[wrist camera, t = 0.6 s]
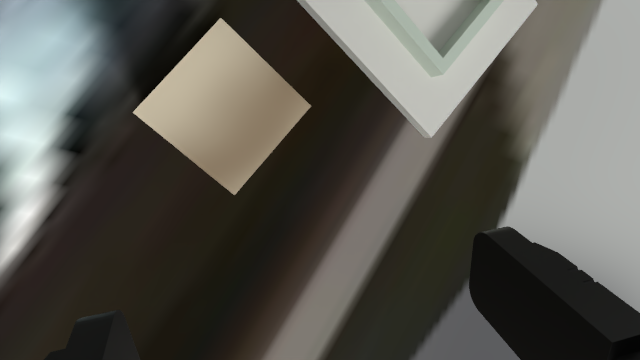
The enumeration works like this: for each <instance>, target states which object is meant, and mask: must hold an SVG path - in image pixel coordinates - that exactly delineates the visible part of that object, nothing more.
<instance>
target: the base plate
mask: <svg viewBox="0 0 640 360" xmlns="http://www.w3.org/2000/svg"><path fill="white" fill-rule="evenodd" d="M297 1H298V2H299V3H300V4H301V5H302V6H303V8H304V9H305V10H306V11H307V12H308V13H309V14H310V15H311V16H312V17H313V18H314V19H315V20H316V22H317V23H318V24H319V25H320V26H321V27H322V28H323V29H324V30H325V31H326V32H327V33H328V34H329V36H330V37H331V38H332V39H333V40H334V41H335V42H336V43H337V44H338V45H339V46H340V47H341V48H342V49H343V51H344V52H345V53H346V54H347V55H348V56H349V57H350V58H351V59H352V60H353V61H354V62H355V63H356V65H357V66H358V67H359V68H360V69H361V70H362V71H363V72H364V73H365V74H366V75H367V76H368V77H369V79H370V80H371V81H372V82H373V83H374V84H375V85H376V86H377V87H378V88H379V89H380V90H381V91H382V92H383V94H384V95H385V96H386V97H387V98H388V99H389V100H390V101H391V102H392V103H393V104H394V105H395V106H396V108H397V109H398V110H399V111H400V112H401V113H402V114H403V115H404V116H405V117H406V118H407V119H408V120H409V122H410V123H411V124H412V125H413V126H414V127H415V128H416V129H417V130H418V131H419V132H420V133H421V134H422V135H423V137H432V136H433V135H434V134H435V133H436V131H437V130H438V129H439V128H440V126H441V125H442V124H443V123H444V121H445V120H446V119H447V118H448V116H449V115H450V114H451V113H452V111H453V110H454V109H455V108H456V106H457V105H458V104H459V103H460V101H461V100H462V99H463V98H464V96H465V95H466V94H467V93H468V91H469V90H470V89H471V88H472V86H473V85H474V84H475V83H476V81H477V80H478V79H479V78H480V76H481V75H482V74H483V73H484V71H485V70H486V69H487V68H488V66H489V65H490V64H491V62H492V61H493V60H494V59H495V57H496V56H497V55H498V54H499V52H500V51H501V50H502V49H503V47H504V46H505V45H506V44H507V42H508V41H509V40H510V39H511V37H512V36H513V35H514V34H515V32H516V31H517V30H518V29H519V27H520V26H521V25H522V24H523V22H524V21H525V20H526V19H527V17H528V16H529V15H530V14H531V12H532V11H533V10H534V9H535V7H536V6H537V5H538V4H537V2H536V1H535V0H297Z"/></svg>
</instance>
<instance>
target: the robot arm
mask: <svg viewBox="0 0 640 360" xmlns="http://www.w3.org/2000/svg"><path fill="white" fill-rule="evenodd" d="M469 289H470V294H471V297H472V300H473V302H474V304H475V306H476V308H477V309H478V311H479V312H480V313H481V314H482V315H483V316H484V317H485V319H486V320H487V321H488V322H489V323H490V324H491V326H492V327H493V328H494V329H495V330H496V332H497V333H498V334H499V335H500V336H501V337H502V338H503V340H504V341H505V342H506V343H507V344H508V345H509V347H510V348H511V349H512V350H513V351H514V352H515V354H516V355H517V356H518V357H519V358H520V359H521V360H640V313H639V312H638V311H636V310H635V309H633V308H632V307H631V306H629V305H628V304H626V303H625V302H624V301H623V300H621V299H620V298H619V297H617V296H616V295H614V294H613V293H612V292H610V291H609V290H608V289H607V288H605V287H604V286H603V285H601V284H600V283H598V282H594V280H593V278H591V277H590V276H589V275H588V274H586V273H585V272H583V271H582V270H578V268H577V266H575V265H574V264H573V263H571V262H570V261H569V260H567V259H566V258H565V257H563V256H562V255H561V254H559V253H558V252H555V251H553V250H551V249H548V248H546V247H544V246H542V245H539V244H537V243H532V242H530V241H529V240H528V239H526V238H525V237H524V236H522V235H521V234H520V233H518V232H517V231H516V230H515V229H513V228H511V227H503V228H498V229H494V230H489V231H485V232H480V233H478V234H477V235H476V236H475V238H474V242H473V251H472V261H471V271H470V280H469ZM44 360H140V358H139V356H138V353H137V350H136V347H135V344H134V342H133V339H132V336H131V333H130V330H129V328H128V325H127V322H126V319H125V317H124V315H123V313H122V312H121V311H120V310H116V311H112V312H107V313H102V314H98V315H93V316H89V317H84V318H80V319H78V320H77V321H76V323H75V325H74V328H73V330H72V333H71V336H70V338H69V341H68V344H67V346H66V349H62V350H58V351H54V352H50V353H49V354H48V356H47V357H46V358H45V359H44Z"/></svg>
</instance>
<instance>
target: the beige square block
mask: <svg viewBox="0 0 640 360" xmlns="http://www.w3.org/2000/svg"><path fill="white" fill-rule="evenodd" d="M310 107H311V106H310V105H309V104H308V103H307V102H306V101H305V100H304V99H303V98H302V97H301V96H300V95H299V94H298V93H297V92H296V91H295V90H294V89H293V88H292V87H291V86H290V85H289V84H288V83H287V82H286V81H285V80H284V79H283V78H282V77H281V76H280V75H279V74H278V73H277V72H276V71H275V70H274V69H273V68H272V67H271V66H270V65H269V64H267V63H266V62H265V61H264V60H263V59H262V58H261V57H260V56H259V55H258V54H257V53H256V52H255V51H254V50H253V49H252V48H251V47H250V46H249V45H248V44H247V43H246V42H245V41H244V40H243V39H242V38H241V37H240V36H239V35H238V34H237V33H236V32H235V31H234V30H233V29H232V28H231V27H230V26H229V25H228V24H227V23H226V22H225V21H224V20H222V19H221V18H220V19H219V20H218V21H217V22H216V23H215V24H214V26H213V27H212V28H211V29H210V30H209V31H208V32H207V33H206V34H205V35H204V36H203V37H202V38H201V40H200V41H199V42H198V43H197V44H196V45H195V46H194V47H193V48H192V49H191V50H190V51H189V52H188V54H187V55H186V56H185V57H184V58H183V59H182V60H181V61H180V62H179V63H178V64H177V65H176V66H175V67H174V69H173V70H172V71H171V72H170V73H169V74H168V75H167V76H166V77H165V78H164V79H163V80H162V81H161V83H160V84H159V85H158V86H157V87H156V88H155V89H154V90H153V91H152V92H151V93H150V94H149V95H148V97H147V98H146V99H145V100H144V101H143V102H142V103H141V104H140V105H139V106H138V107H137V108H136V109H135V111H134V112H133V113H134V114H135V115H137V116H138V117H139V118H140V119H141V120H143V121H144V122H145V123H146V124H148V125H149V126H150V127H151V128H152V129H154V130H155V131H156V132H157V133H159V134H160V135H161V136H162V137H164V138H165V139H166V140H167V141H168V142H170V143H171V144H172V145H173V146H175V147H176V148H177V149H178V150H180V151H181V152H182V153H183V154H184V155H186V156H187V157H188V158H189V159H191V160H192V161H193V162H194V163H195V164H197V165H198V166H199V167H200V168H202V169H203V170H204V171H205V172H207V173H208V174H209V175H210V176H211V177H213V178H214V179H215V180H216V181H218V182H219V183H220V184H221V185H223V186H224V187H225V188H226V189H227V190H229V191H230V192H231V193H232V194H234V195H235V194H236V193H237V192H238V191H239V189H240V188H241V187H242V186H243V185H244V184H245V182H246V181H247V180H248V179H249V178H250V177H251V175H252V174H253V173H254V172H255V171H256V170H257V168H258V167H259V166H260V165H261V164H262V163H263V161H264V160H265V159H266V158H267V157H268V156H269V154H270V153H271V152H272V151H273V150H274V149H275V147H276V146H277V145H278V144H279V143H280V142H281V140H282V139H283V138H284V137H285V136H286V135H287V133H288V132H289V131H290V130H291V129H292V128H293V126H294V125H295V124H296V123H297V122H298V121H299V119H300V118H301V117H302V116H303V115H304V114H305V112H306V111H307V110H308V109H309V108H310Z"/></svg>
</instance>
